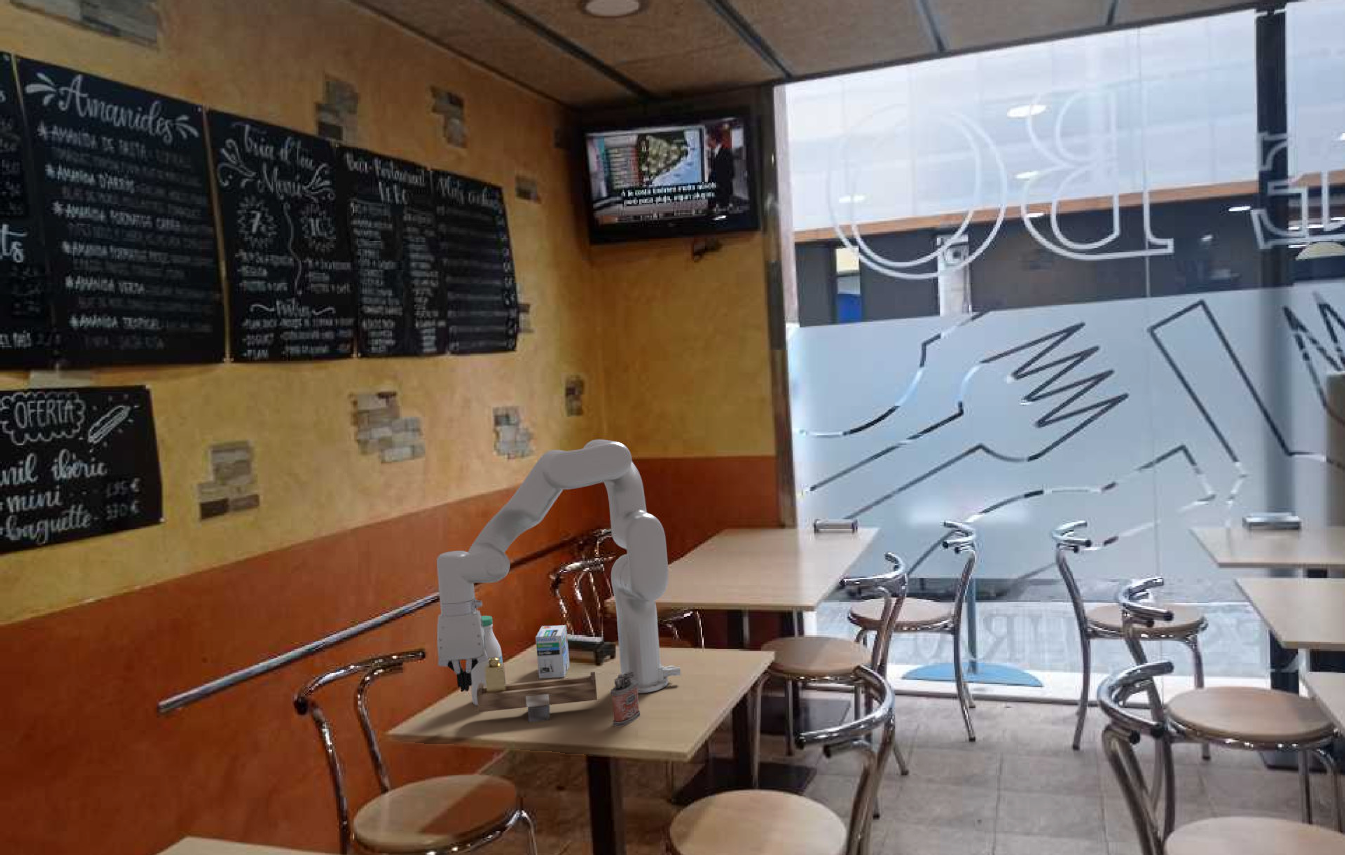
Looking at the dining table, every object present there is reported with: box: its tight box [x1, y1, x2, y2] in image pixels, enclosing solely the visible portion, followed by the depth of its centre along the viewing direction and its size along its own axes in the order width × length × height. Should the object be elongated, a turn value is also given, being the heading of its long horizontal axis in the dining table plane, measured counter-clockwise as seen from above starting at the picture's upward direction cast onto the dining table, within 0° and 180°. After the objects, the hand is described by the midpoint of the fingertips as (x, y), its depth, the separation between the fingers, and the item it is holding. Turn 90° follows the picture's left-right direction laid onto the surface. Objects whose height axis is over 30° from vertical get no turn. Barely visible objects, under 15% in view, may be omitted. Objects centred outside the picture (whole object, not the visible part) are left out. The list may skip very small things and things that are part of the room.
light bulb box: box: [535, 624, 570, 679], centre depth 253 cm, size 11×7×11 cm, turn 179°
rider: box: [485, 657, 506, 693], centre depth 221 cm, size 4×3×8 cm
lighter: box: [610, 671, 641, 727], centre depth 215 cm, size 8×3×10 cm, turn 148°
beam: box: [477, 671, 598, 723], centre depth 222 cm, size 26×8×8 cm, turn 96°
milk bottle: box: [470, 615, 504, 707], centre depth 234 cm, size 8×8×20 cm
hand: (465, 689), depth 221 cm, fingers closed
